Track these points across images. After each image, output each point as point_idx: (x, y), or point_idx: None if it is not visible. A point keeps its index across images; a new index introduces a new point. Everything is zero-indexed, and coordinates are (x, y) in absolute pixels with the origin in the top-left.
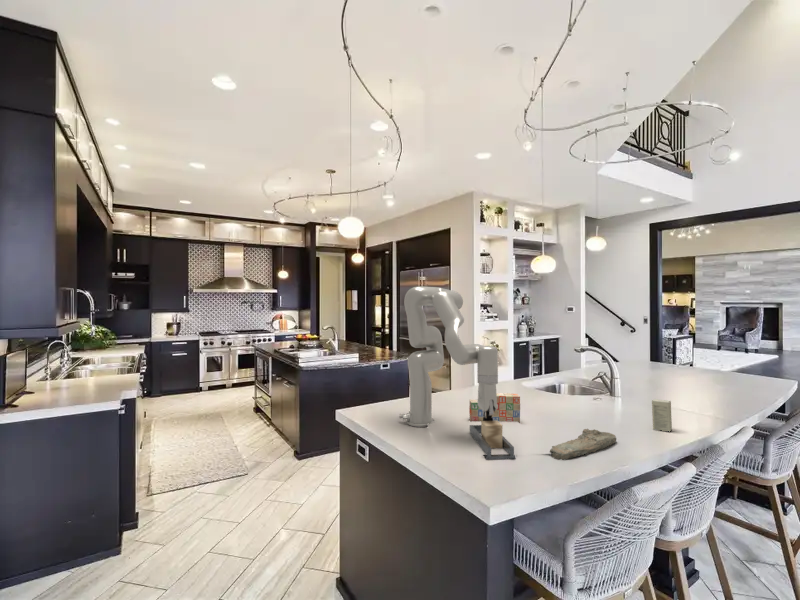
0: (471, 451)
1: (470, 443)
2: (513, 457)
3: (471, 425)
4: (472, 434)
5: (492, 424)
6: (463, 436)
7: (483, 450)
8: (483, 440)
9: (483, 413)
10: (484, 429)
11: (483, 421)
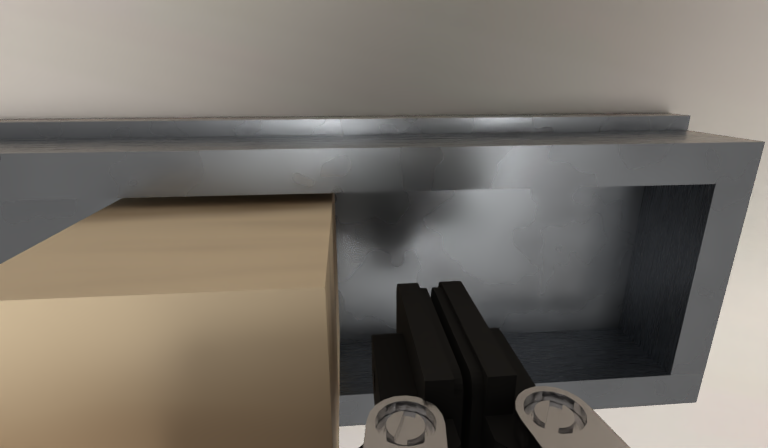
0: (149, 18)
1: (414, 72)
2: None
3: (744, 164)
4: (566, 134)
5: (55, 443)
6: (650, 47)
7: (56, 139)
8: (78, 174)
9: (570, 443)
10: (108, 253)
11: (276, 321)
